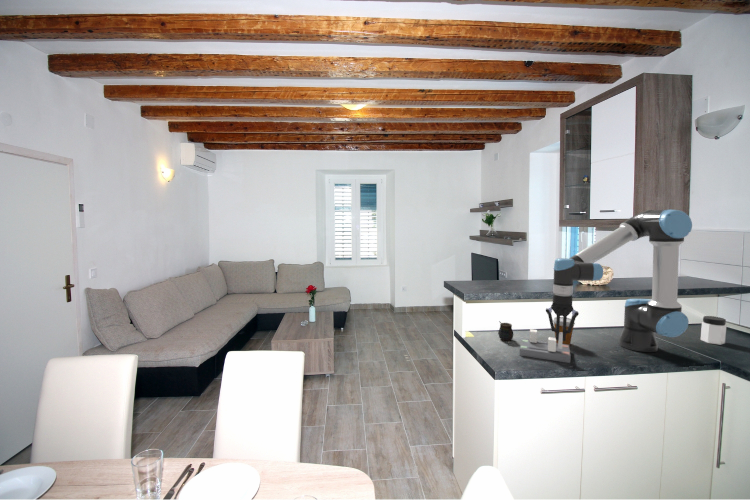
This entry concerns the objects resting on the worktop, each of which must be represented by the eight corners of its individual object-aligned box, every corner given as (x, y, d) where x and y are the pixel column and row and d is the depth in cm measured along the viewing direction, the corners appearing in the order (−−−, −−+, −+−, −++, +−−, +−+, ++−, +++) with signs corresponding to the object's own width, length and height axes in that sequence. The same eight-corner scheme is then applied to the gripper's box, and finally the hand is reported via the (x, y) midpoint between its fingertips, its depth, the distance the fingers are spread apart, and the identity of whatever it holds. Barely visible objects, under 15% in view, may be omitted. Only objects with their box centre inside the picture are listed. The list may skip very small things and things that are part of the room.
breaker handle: (536, 340, 172) (537, 329, 172) (536, 342, 169) (536, 332, 168) (529, 339, 173) (530, 329, 173) (529, 341, 170) (529, 331, 169)
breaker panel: (568, 351, 168) (568, 344, 167) (570, 362, 154) (570, 355, 154) (521, 344, 176) (522, 338, 176) (519, 355, 163) (519, 348, 162)
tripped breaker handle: (555, 349, 161) (556, 338, 160) (555, 352, 157) (556, 340, 157) (548, 347, 162) (548, 337, 161) (548, 350, 158) (548, 339, 158)
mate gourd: (516, 340, 182) (517, 321, 181) (505, 343, 179) (505, 323, 178) (506, 336, 188) (506, 317, 187) (494, 338, 185) (495, 319, 184)
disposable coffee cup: (576, 347, 172) (577, 322, 171) (555, 346, 174) (556, 321, 173) (570, 340, 182) (571, 317, 180) (549, 339, 183) (550, 316, 182)
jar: (706, 337, 185) (708, 314, 184) (727, 342, 178) (729, 319, 177) (697, 340, 181) (699, 317, 180) (718, 345, 174) (720, 321, 173)
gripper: (545, 294, 155) (543, 348, 157) (580, 297, 150) (577, 353, 152) (545, 291, 162) (543, 342, 164) (579, 294, 156) (576, 347, 159)
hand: (560, 347), depth 158 cm, fingers closed
